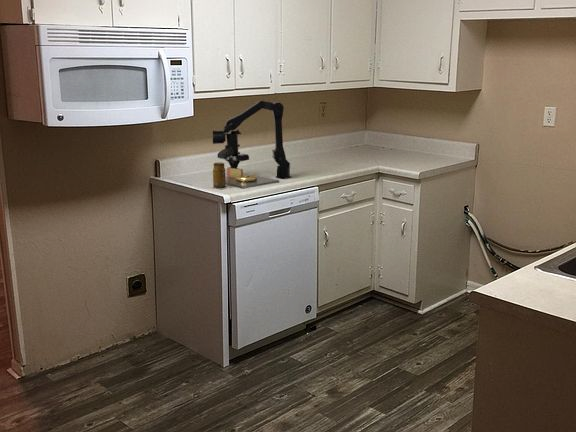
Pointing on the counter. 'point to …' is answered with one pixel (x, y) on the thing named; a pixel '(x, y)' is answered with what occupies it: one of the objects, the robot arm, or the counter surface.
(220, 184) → the condiment
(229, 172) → the brass lever handle
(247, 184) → the base plate
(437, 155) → the counter surface
